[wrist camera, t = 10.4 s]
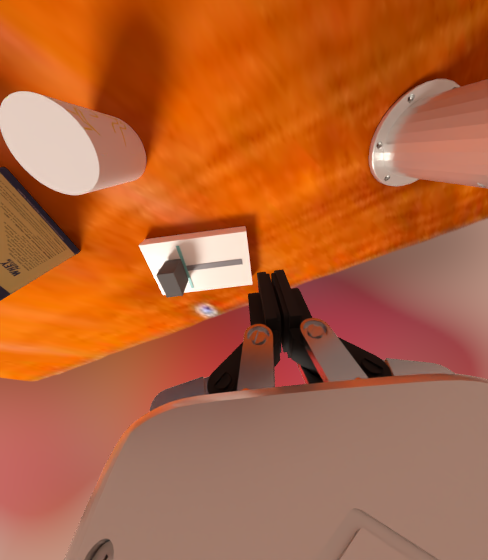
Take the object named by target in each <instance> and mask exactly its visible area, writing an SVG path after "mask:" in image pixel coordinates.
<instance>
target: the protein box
mask: <svg viewBox="0 0 488 560" xmlns="http://www.w3.org/2000/svg"><path fill="white" fill-rule="evenodd" d="M79 252H80V251H79V249H78V248H77V247H76V246H75V245H74V244H73V243H72V242H71V240H70V239H69V238H68V237H67V236H66V235H65V234H64V232H63V231H62V230H61V229H60V228H59V227H58V226H57V225H56V223H55V222H54V221H53V220H52V219H51V218H50V217H49V216H48V214H47V213H46V212H45V211H44V210H43V209H42V208H41V206H40V205H39V204H38V203H37V202H36V201H35V200H34V199H33V197H32V196H31V195H30V194H29V193H28V192H27V191H26V190H25V188H24V187H23V186H22V185H21V184H20V183H19V182H18V180H17V179H16V178H15V177H14V176H13V175H12V174H11V173H10V171H9V170H8V169H7V168H5V167H0V300H2V299H4V298H5V297H7V296H9V295H10V294H12V293H14V292H15V291H17V290H18V289H20V288H22V287H23V286H25V285H27V284H28V283H30V282H31V281H33V280H35V279H36V278H38V277H40V276H41V275H43V274H44V273H46V272H47V271H49V270H51V269H52V268H54V267H56V266H57V265H59V264H61V263H62V262H64V261H65V260H67V259H69V258H70V257H72V256H74V255H76V254H78V253H79Z"/></svg>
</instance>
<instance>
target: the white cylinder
mask: <svg viewBox="0 0 488 560" xmlns="http://www.w3.org/2000/svg"><path fill="white" fill-rule="evenodd" d="M0 129H1V132H2V135H3V138H4V140H5V142H6V144H7V146H8V148H9V150H10V151H11V153H12V154H13V156H14V157H15V159H16V160H17V161H18V162H19V164H20V165H21V166H22V167H23V168H24V169H25V170H26V171H27V172H28V173H29V174H30V175H31V176H33V177H34V178H35V179H36V180H38V181H39V182H40V183H42V184H43V185H45V186H47V187H49V188H51V189H53V190H55V191H57V192H60V193H63V194H68V195H82V194H85V193H89V192H93V191H97V190H100V189H104V188H108V187H111V186H115V185H119V184H123V183H126V182H130V181H134V180H136V179H138V178H139V177H140V176H141V175H142V174H143V173H144V170H145V168H146V153H145V149H144V146H143V144H142V142H141V140H140V138H139V136H138V135H137V134H136V132H135V131H134V130H133V129H132V128H131V127H130V126H129V125H128V124H127V123H125V122H124V121H122V120H121V119H119V118H116V117H114V116H110V115H107V114H104V113H100V112H97V111H94V110H90V109H87V108H84V107H80V106H77V105H74V104H70V103H67V102H64V101H60V100H57V99H54V98H50V97H47V96H44V95H40V94H37V93H33V92H28V91H19V92H14V93H12V94H10V95H8V96H7V97H6V98H5V99H4V100H3V102H2V103H1V106H0Z"/></svg>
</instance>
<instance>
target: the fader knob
mask: <svg viewBox="0 0 488 560" xmlns="http://www.w3.org/2000/svg"><path fill="white" fill-rule="evenodd" d="M156 276H157V278H158V280H159V282H160V284H161V286H162V288H163V290H164V292H165V294H166V296H167V297H174V296H182V295H183V294H184V291H185V288H186V285H187V283H188V277H187V274H186V272H185V269H184V266H183V263H182V261H181V259H175V260H167V261H165V262H164V264H163V265H162V267H161V268H160V270H159V271H158V273H157V275H156Z"/></svg>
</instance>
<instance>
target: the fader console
mask: <svg viewBox="0 0 488 560" xmlns="http://www.w3.org/2000/svg"><path fill="white" fill-rule="evenodd" d="M139 247H140V249H141V251H142V253H143V255H144V257H145V260H146V262H147V264H148V266H149V268H150V270H151V272H152V274H153V276H154V278H155V280H156V282H157V284H158V286H159V288H160V290H161V292H162V294H163V295H166V294H165V292H164V290H163V288H162V286H161V284H160V282H159V280H158V278H157V276H156V275H157V273H158V271H159V270H160V268H161V267H162V265H163V264H164V262H165V261H167V260H175V259H181V261H182V263H183V266H184V269H185V272H186V274H187V277H188V283H187V285H186V288H185V291H184V293H185V292H193V291H201V290H210V289H218V288H227V287H235V286H243V285H252V276H251V267H250V259H249V250H248V241H247V233H246V226H241V227H233V228H226V229H218V230H211V231H203V232H195V233H188V234H180V235H173V236H165V237H157V238H150V239H145V240H144V241H143V242H142V243H141V244H140V245H139Z"/></svg>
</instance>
